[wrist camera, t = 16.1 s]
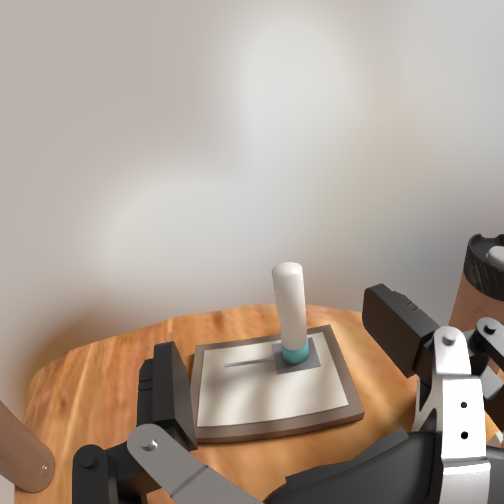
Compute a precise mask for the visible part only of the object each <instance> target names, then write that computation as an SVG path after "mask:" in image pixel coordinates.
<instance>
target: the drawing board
mask: <svg viewBox="0 0 504 504" xmlns="http://www.w3.org/2000/svg"><path fill="white" fill-rule="evenodd" d="M307 338H308V348H309V356H308V358H307V360H306V361H305V362H303V363H301V364H289V363H287V362H286V361H285V360H284V359H283V353H282V346H281V341H282V340H281V334H277V335H271V336H265V337H258V338H252V339H245V340H238V341H230V342H223V343H214V344H206V345H196V349H195V356H194V363H193V370H192V377H191V384H190V395H191V403H192V412H193V419H194V427H195V434H196V441H197V444H201V443H225V442H239V441H250V440H259V439H267V438H275V437H282V436H288V435H294V434H300V433H305V432H310V431H315V430H320V429H324V428H329V427H333V426H337V425H341V424H345V423H349V422H353V421H356V420H360V419H363V417H364V413H365V412H364V409H363V406H362V404H361V401H360V398H359V396H358V393H357V391H356V388H355V385H354V383H353V380H352V378H351V375H350V373H349V370H348V367H347V365H346V362H345V360H344V357H343V355H342V352H341V350H340V348H339V345H338V343H337V340H336V338H335V335H334V333H333V331H332V328H331V326H330V325H325V326H320V327H315V328H310V329H307Z"/></svg>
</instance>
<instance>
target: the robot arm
mask: <svg viewBox="0 0 504 504" xmlns="http://www.w3.org/2000/svg"><path fill="white" fill-rule="evenodd" d="M362 321H363V325H364V327H365V329H366V330H367V331H368V333H369V334H370V335H371V336H372V337H373V338H374V340H375V341H376V342H377V343H378V344H379V346H380V347H381V348H382V349H383V350H384V351H385V353H386V354H387V355H388V356H389V357H390V359H391V360H392V361H393V362H394V363H395V365H396V366H397V367H398V368H399V369H400V371H401V372H402V373H403V374H404V375H405V377H406V378H409V377H411V376H413V375H414V374H417V375H418V376H419V377H418V380H417V397H416V413H415V420H414V423H413V426H412V429H411V432H407V433H406V432H405V430H404V429H403V427H401V428H400V429H398V430H396V431H394V432H392V433H391V434H389V435H387V436H385V437H383V438H381V439H379V440H377V441H376V442H375V443H374V444H372V445H371V446H370V447H369V448H368V449H366V450H365V451H364V452H362V453H361V454H360V455H359V456H357V457H356V458H355V459H353V460H351V461H347V462H342V463H337V464H331V465H324V466H317V467H314V468H312V469H309V470H306V471H303V472H300V473H297V474H294V475H290V476H287V477H285V479H286V484H284V485H282V486H280V487H279V488H277V489H276V490H274V491H273V492H272V493H271V494H270V495H268V496H267V497H266V499H265V500H264V501H263V502H261V501H259V500H258V499H256V498H254V497H253V496H251V495H250V494H248V493H247V492H245V491H243V490H242V489H240V488H239V487H237V486H236V485H235V484H233V483H232V482H230V481H229V480H227V479H226V478H225V477H223V476H222V475H220V474H219V473H218V472H216V471H215V470H213V469H212V468H211V467H209V466H207V465H204V464H203V463H201V462H200V461H199V460H198V459H196V458H195V457H194V456H193V455H192V454H190V451H192V450H198V447H197V441H196V434H195V427H194V419H193V412H192V403H191V395H190V385H189V378H188V374H187V371H186V368H185V365H184V363H183V361H182V359H181V356H180V354H179V352H178V350H177V347H176V345H175V343H174V342H173V341H171V342H166V343H161V344H156V345H155V346H154V358H153V359H148V360H145V361H144V363H143V365H142V367H141V369H140V372H139V385H138V391H139V392H138V403H137V425H136V428H135V429H134V430H133V431H132V432H131V433H130V434H129V436H128V439H127V441H126V442H124V443H122V444H120V445H117V446H114V447H112V448H109V449H106V450H103V449H102V448H101V447H99V446H97V445H91V444H90V445H85V446H83V447H81V448H80V449H79V450H78V451H77V452H76V453H75V455H74V458H73V470H72V504H148V503H147V496H146V494H147V493H150V492H152V491H155V490H158V489H160V488H163V489H164V490H165V491H166V492H167V493H168V494H169V495H170V497H171V498H172V499H173V501H174V502H176V503H177V504H504V383H503V382H502V381H501V380H500V378H499V377H498V376H497V375H496V374H495V373H494V372H493V371H492V369H491V368H490V367H489V366H488V364H489V362H490V360H491V359H492V360H493V361H494V362H495V363H496V364H497V365H498V366H499V367H500V368H501V369H502V371H503V372H504V326H503V325H502V324H501V323H499V322H498V321H497V320H495V319H493V318H489V317H484V318H481V319H480V320H479V321H478V322H477V325H476V328H475V329H474V330H470V331H466V332H461V331H460V330H458V329H457V328H454V327H451V326H444V327H440V326H439V325H438V324H437V323H436V322H434V321H433V320H432V319H431V318H430V317H429V316H428V315H427V314H425V313H424V312H423V311H422V310H421V309H418V307H417V306H416V305H415V304H414V303H412V301H410V300H409V299H408V298H407V297H406V296H405V295H402V294H400V293H398V292H395V291H393V292H392V291H391V290H390V289H389V288H387V287H386V286H385V285H384V284H378V285H375V286H372V287H370V288H367V289H366V290H365V292H364V303H363V312H362ZM483 408H484V410H485V411H486V412H487V414H488V415H489V416H490V418H491V419H492V420H493V422H494V423H495V424H496V426H497V427H498V428H499V430H500V431H501V433H502V434H503V441H502V442H501V448H499V447H494V446H489V445H485V424H484V410H483ZM54 470H55V462H54V457H53V454H52V452H51V451H50V449H49V448H48V447H47V446H46V445H45V444H44V443H43V442H41V441H40V440H39V439H38V438H37V437H36V436H35V435H34V434H33V433H32V432H31V431H30V430H28V429H27V428H26V427H25V426H24V425H23V424H22V423H21V422H20V421H19V420H18V419H17V418H16V417H15V416H14V415H13V413H12V412H11V411H10V410H9V409H8V408H7V407H6V406H5V405H4V404H3V403H2V402H1V400H0V474H1V475H2V476H4V477H5V478H7V479H8V480H9V481H11V482H12V483H13V484H15V485H16V486H18V487H19V488H21V489H23V490H24V491H26V492H30V493H36V492H39V491H41V490H43V489H45V488H46V487H47V486H48V484H49V483H50V481H51V480H52V477H53V474H54Z"/></svg>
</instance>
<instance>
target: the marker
mask: <svg viewBox="0 0 504 504" xmlns="http://www.w3.org/2000/svg"><path fill="white" fill-rule="evenodd" d="M272 276H273V282H274V290H275V296H276V304H277V311H278V318H279V325H280V333H281V340H282V341H281V346H282V353H283V359H284V360H285V361H286V362H287V363H289V364H301V363H303V362H305V361H306V360H307V358H308V356H309V348H308V338H307V326H306V311H305V297H304V285H303V272H302V267H301V265H300V264H298V263H294V262H286V263H281V264H278V265H276V266H275V267H274V268H273V269H272Z"/></svg>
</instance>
